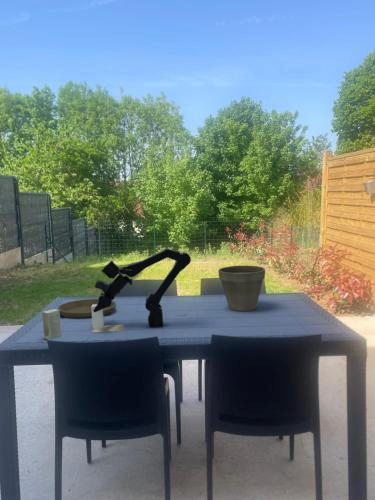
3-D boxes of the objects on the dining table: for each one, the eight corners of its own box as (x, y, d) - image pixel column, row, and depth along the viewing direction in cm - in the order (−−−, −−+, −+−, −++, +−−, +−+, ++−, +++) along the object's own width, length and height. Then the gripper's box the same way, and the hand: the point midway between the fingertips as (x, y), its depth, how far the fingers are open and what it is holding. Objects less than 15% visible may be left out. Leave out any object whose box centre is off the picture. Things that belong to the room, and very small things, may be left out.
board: (125, 325, 204) (125, 324, 204) (122, 332, 194) (122, 330, 194) (95, 326, 204) (95, 325, 204) (91, 333, 194) (91, 331, 194)
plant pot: (244, 316, 215) (243, 273, 212) (209, 308, 233) (208, 269, 231) (275, 307, 231) (274, 268, 229) (240, 301, 249) (240, 264, 247)
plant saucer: (120, 316, 223) (120, 308, 222) (58, 323, 213) (58, 314, 213) (112, 304, 252) (112, 296, 252) (57, 309, 243) (57, 301, 242)
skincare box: (56, 335, 193) (54, 308, 192) (61, 336, 190) (60, 309, 189) (43, 338, 188) (41, 311, 187) (49, 340, 185) (47, 312, 184)
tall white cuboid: (103, 325, 204) (102, 303, 203) (102, 328, 199) (101, 306, 197) (94, 326, 204) (92, 304, 202) (92, 329, 198) (91, 307, 197)
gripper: (106, 270, 208) (84, 294, 208) (102, 277, 190) (78, 302, 190) (123, 286, 210) (101, 309, 210) (121, 293, 191) (97, 319, 191)
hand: (94, 309), depth 200 cm, fingers open, 7 cm apart
